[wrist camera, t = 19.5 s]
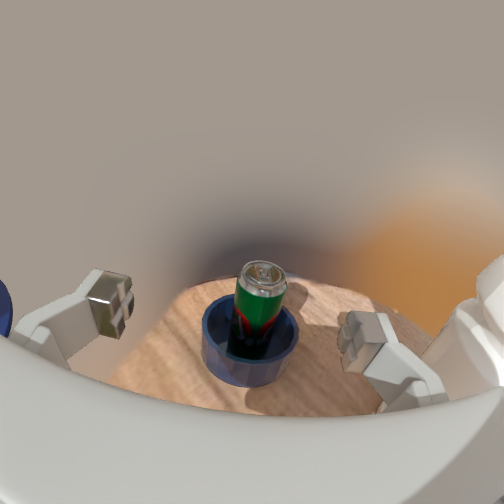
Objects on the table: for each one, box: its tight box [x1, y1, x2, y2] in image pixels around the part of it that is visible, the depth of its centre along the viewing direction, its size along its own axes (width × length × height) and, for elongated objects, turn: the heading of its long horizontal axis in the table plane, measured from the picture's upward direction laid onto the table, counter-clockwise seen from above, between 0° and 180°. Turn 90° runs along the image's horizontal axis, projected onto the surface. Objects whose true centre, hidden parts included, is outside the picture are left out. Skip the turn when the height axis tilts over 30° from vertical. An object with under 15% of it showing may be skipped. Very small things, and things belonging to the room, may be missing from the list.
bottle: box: [377, 254, 504, 414], centre depth 16 cm, size 14×14×28 cm
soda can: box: [227, 261, 287, 360], centre depth 29 cm, size 5×5×12 cm
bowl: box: [201, 294, 299, 388], centre depth 32 cm, size 11×11×5 cm
